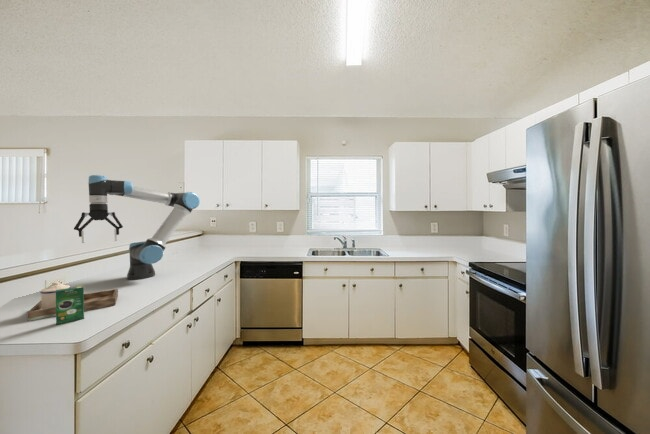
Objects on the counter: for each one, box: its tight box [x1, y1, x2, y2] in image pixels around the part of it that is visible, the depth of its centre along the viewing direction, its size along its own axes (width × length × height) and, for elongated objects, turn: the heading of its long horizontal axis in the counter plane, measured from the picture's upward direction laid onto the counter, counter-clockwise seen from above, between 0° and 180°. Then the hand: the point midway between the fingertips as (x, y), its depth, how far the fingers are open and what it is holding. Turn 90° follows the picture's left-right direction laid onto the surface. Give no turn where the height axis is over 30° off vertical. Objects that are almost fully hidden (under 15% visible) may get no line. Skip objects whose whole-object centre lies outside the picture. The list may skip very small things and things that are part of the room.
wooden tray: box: [26, 288, 119, 322], centre depth 116 cm, size 27×17×4 cm, turn 126°
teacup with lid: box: [40, 281, 72, 309], centre depth 113 cm, size 12×9×12 cm
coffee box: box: [55, 285, 85, 325], centre depth 101 cm, size 8×3×13 cm, turn 136°
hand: (100, 241), depth 141 cm, fingers open, 13 cm apart
